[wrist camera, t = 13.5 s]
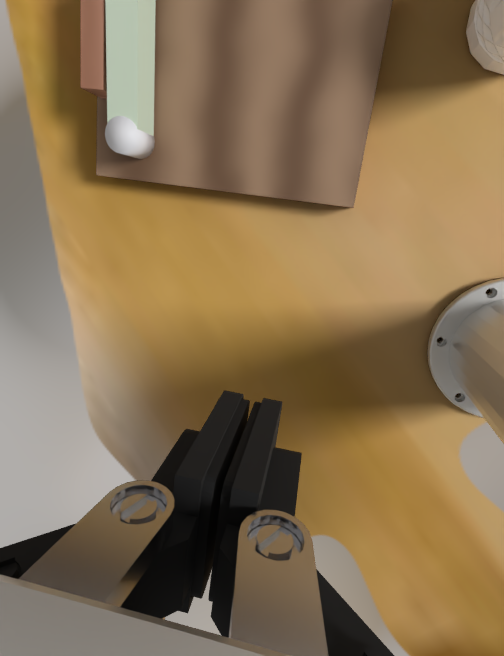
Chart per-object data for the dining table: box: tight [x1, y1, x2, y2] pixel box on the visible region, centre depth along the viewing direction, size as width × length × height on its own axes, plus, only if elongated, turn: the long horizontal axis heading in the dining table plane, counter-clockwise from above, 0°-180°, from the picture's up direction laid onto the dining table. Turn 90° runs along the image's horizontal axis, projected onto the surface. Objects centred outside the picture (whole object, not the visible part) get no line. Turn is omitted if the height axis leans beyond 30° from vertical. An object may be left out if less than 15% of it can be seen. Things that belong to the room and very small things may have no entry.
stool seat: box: [81, 0, 393, 208], centre depth 31 cm, size 22×18×6 cm
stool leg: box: [105, 0, 156, 159], centre depth 30 cm, size 16×3×3 cm, turn 176°
